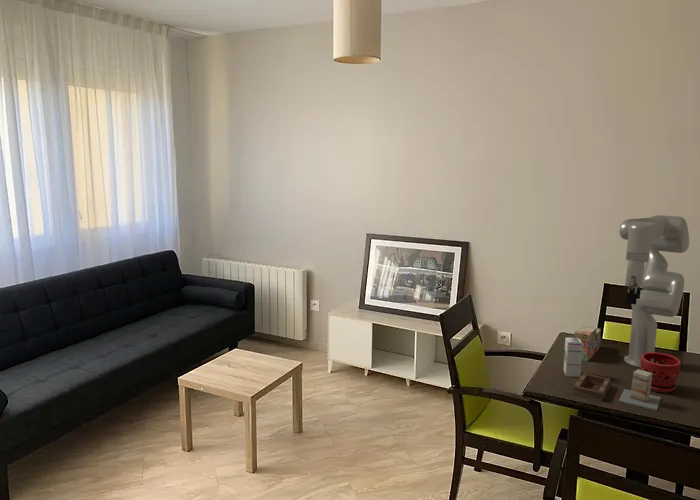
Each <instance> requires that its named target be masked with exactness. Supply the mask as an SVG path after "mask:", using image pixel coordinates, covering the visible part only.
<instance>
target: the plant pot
mask: <svg viewBox="0 0 700 500" xmlns="http://www.w3.org/2000/svg"><path fill="white" fill-rule="evenodd" d="M651 359H654V361H653V362H651ZM656 362H657V363H656ZM681 364H682V363H681V360H680V359H679V358H677V357H676V356H674V355H671V354H669V353H668V354H667V353H664V352H663V353H662V352H656V351H655V352H650V353H644V354H642V356H641V362H640V367H639V368H640V370H643V371H647V372H650V373H652V382H651V389H650V391H653V392H657V393H672V392H673V391H675V390H676V387H677V385H676V382H677V381H678V379H679V376H680V374H681V373H680V371H681Z"/></svg>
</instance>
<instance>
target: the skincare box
mask: <svg viewBox="0 0 700 500" xmlns="http://www.w3.org/2000/svg"><path fill="white" fill-rule="evenodd" d="M651 382H652V373H650V372H647V371H643V370H641V368H640V369H639V368H637V369H636V370H634V371H633V374H632V382H631V387H630V388H631V389H630V390H631V396H630V398H633V399H635V400H638V401H641V402H646V401H647V400H649V397H650V395H651V390H650V389H651Z"/></svg>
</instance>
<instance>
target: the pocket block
mask: <svg viewBox="0 0 700 500" xmlns="http://www.w3.org/2000/svg"><path fill="white" fill-rule="evenodd" d="M611 380H612V379H611V378H609V377H604V376H599V375H595V374H590V373H585V372H583V373H581V375H580V377H578V379H577V381H576V382H575V384H574V386H573V388H572V395H573V396H577V397H582V398H584V399H589V400H592V401H593V400H594V401H598V402H602V401H603V400H604V397H605V396H606V394H607V393H608V391H609V389H610V387H611ZM586 383H587V384H592V385H596V386H600V387H599V389H598V390H597V389H592V388H587V387H585V385H586Z"/></svg>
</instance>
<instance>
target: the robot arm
mask: <svg viewBox="0 0 700 500" xmlns="http://www.w3.org/2000/svg"><path fill="white" fill-rule="evenodd" d="M618 230H619V232H618V233H619V235H620V236H619V237H620V238H621V239H622V240H626V241H627V244H626V246H627V247H626V255H625V261H627V267H626V274H625V282H624V283H625V284H624V286H625V287H626V288H627V287H628V288H627V292H626V293H627V294H626V304H628V305H631V325H630V327H631V328H630V338H629V349H628V355H625V356H624V358H623V361H624V362H625V363H626V364H628V365H630V366H633V367H636V368H637V367H638V368H640V362H641V356H642V354H644V353H650V352H655V353H656V351H655V350H656V341H657V330H658V322H657V319H656V318H655V317H654V316H660V317H661V316H662V317H668V318H669V317H670V318H674V317H676V316H677V315H678V313H679V310H680V306H681V301H682V298H683V294H684V290H685V278H684V276H683V275H682V274H681V273H679V272H675V271H674V272H673V271H668V267H669V262H668V261H667V259H666V257H665V256H664V255H663V253H662V254H661V253H660V252H666V253H676V254H683V253H686V252H687V251H688V249H689V246H690V235H689V226H688V221H686V219H685V218H684V217H682V216H677V215H660V214H659V215H657V214H656V215H653V216H651V217H650V216H649V217H640V218H628V219H626V220H623V221H622V222H621V224H620V226H619V229H618ZM653 315H654V316H653ZM653 361H654V359H651V362H653ZM656 363H658V361H657V362H656Z"/></svg>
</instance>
